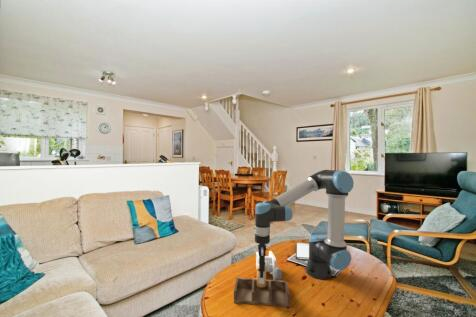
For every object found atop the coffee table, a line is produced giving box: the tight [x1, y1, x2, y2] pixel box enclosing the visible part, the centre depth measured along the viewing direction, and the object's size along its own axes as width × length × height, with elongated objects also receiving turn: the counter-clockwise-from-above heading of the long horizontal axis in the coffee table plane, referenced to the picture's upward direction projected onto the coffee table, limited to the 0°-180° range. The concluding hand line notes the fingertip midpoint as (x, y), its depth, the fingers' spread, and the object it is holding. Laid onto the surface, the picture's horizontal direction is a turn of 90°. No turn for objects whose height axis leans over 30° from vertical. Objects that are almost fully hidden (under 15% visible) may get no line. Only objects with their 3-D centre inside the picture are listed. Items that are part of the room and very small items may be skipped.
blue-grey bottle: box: [272, 267, 283, 281], centre depth 121 cm, size 5×5×10 cm
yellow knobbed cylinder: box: [256, 265, 267, 287], centre depth 110 cm, size 5×5×10 cm
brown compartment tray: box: [233, 277, 291, 308], centre depth 112 cm, size 27×12×6 cm, turn 85°
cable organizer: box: [255, 250, 278, 276], centre depth 135 cm, size 15×11×12 cm
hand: (261, 280), depth 110 cm, fingers closed on yellow knobbed cylinder, 4 cm apart
